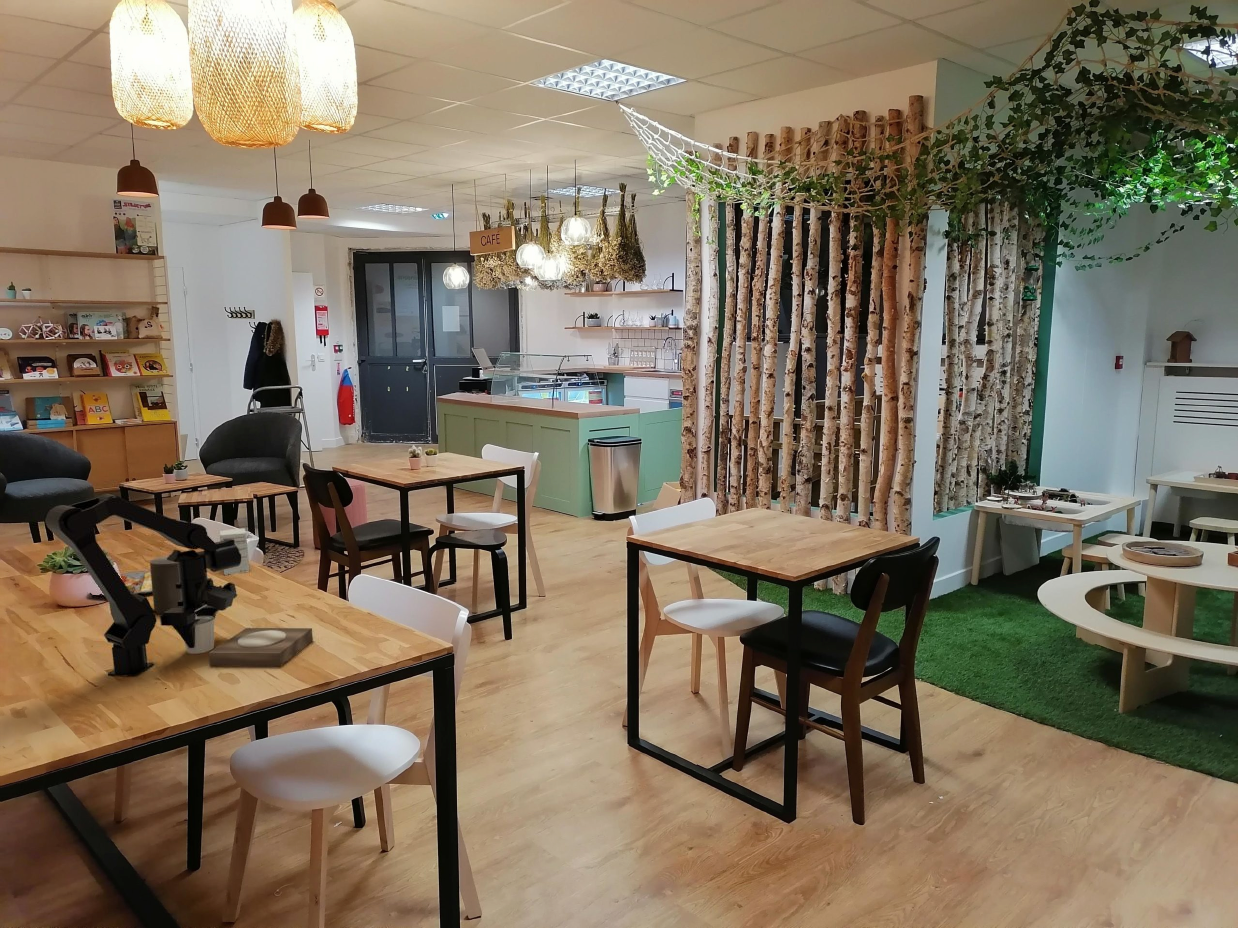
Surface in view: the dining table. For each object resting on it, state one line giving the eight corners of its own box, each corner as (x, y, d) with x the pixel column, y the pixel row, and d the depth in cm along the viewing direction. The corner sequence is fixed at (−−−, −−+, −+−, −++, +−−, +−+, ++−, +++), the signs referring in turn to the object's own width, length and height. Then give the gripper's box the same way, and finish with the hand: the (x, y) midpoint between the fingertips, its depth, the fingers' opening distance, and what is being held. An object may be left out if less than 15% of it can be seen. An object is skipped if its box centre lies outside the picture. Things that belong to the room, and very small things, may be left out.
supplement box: (223, 570, 267) (219, 530, 265) (249, 566, 270) (245, 527, 268) (223, 575, 260) (219, 535, 258) (249, 572, 263) (246, 532, 261)
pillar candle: (157, 617, 221) (152, 560, 219) (151, 608, 229) (146, 553, 227) (198, 610, 227) (194, 555, 225) (191, 601, 235) (187, 548, 232)
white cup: (203, 655, 193) (200, 625, 192) (177, 653, 195) (173, 624, 194) (223, 644, 200) (220, 615, 199) (197, 643, 201) (194, 614, 200)
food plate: (100, 581, 257) (99, 569, 257) (186, 572, 265) (185, 561, 265) (81, 606, 234) (80, 594, 233) (176, 596, 242) (175, 584, 242)
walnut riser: (280, 666, 185) (279, 650, 185) (209, 665, 187) (208, 650, 186) (312, 640, 201) (311, 626, 201) (247, 640, 202) (246, 625, 202)
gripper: (204, 588, 185) (211, 658, 187) (248, 565, 203) (253, 629, 206) (155, 588, 186) (162, 657, 188) (203, 565, 204) (209, 629, 206)
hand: (199, 642), depth 197 cm, fingers closed on white cup, 6 cm apart
